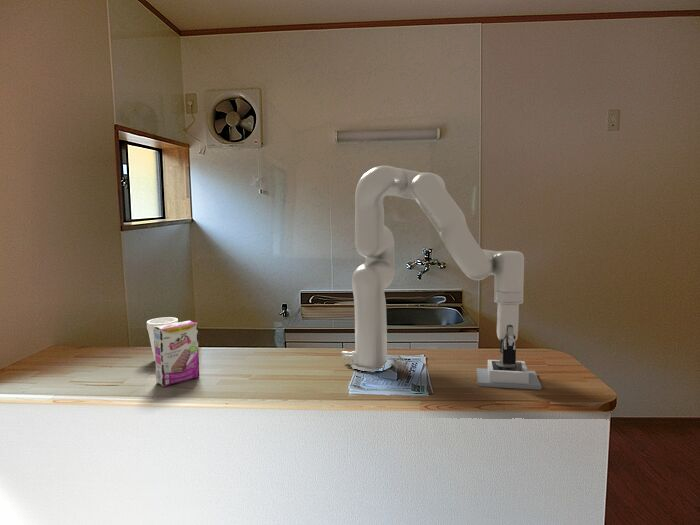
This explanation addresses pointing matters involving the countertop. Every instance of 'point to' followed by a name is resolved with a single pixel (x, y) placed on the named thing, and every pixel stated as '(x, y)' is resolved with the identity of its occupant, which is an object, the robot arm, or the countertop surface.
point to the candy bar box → (176, 352)
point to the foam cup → (158, 322)
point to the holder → (508, 377)
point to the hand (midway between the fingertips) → (507, 358)
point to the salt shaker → (505, 366)
